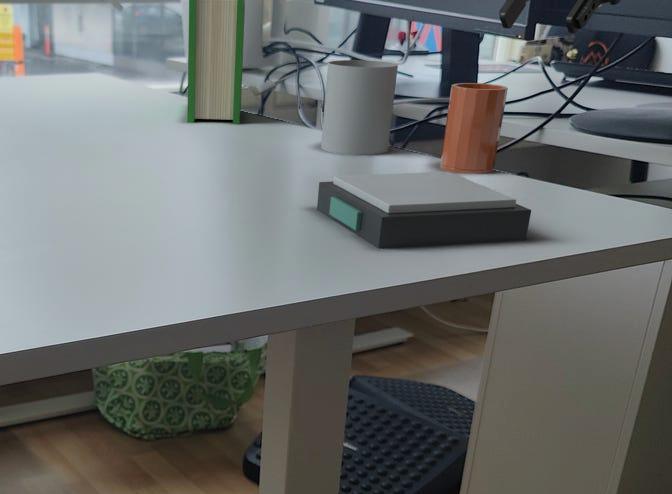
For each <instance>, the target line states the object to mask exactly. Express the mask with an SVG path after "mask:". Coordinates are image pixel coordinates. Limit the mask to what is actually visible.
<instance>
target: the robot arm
mask: <svg viewBox="0 0 672 494" xmlns="http://www.w3.org/2000/svg"><path fill="white" fill-rule="evenodd" d="M529 1H531V0H505V2H504V3H503V4H502V6H501V8H500V9H499V11H498V15H499V20H500V22H501V25H502V28H503V29H512V27H513V26H514V24H515V23H516V21H517V20H518V18H519V17H520V15H521V13H522V12H523V11H524V9H525V8H526V6H527V3H528V2H529ZM621 1H622V0H577V1H576V3H575V4H574V6H573V7H572V9H570V12H569V13H568V14H567V16H566V18H565V25H566V29H567V33H569V34H577V33H578V32H579V31H580V30H581V29H583V28H584V27H585V26H586V25H587V24H588V22H589V21H590V19H591V18H592V16H593V15H594V13H595V12H596V10H597V9H599V8H601V7H602V6H603V5H604V4H607V3H609V5H611V6H616V5H617V4H619V3H620V2H621Z"/></svg>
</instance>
